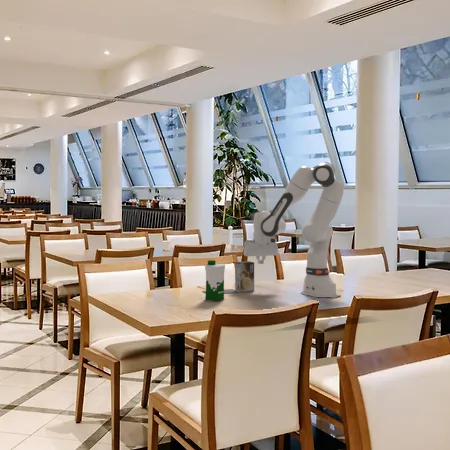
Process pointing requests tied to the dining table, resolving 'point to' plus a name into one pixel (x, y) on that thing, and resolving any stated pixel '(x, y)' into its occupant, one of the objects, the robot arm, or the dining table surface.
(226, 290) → the mat
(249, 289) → the coffee box
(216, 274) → the milk carton
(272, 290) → the dining table surface
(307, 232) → the robot arm
